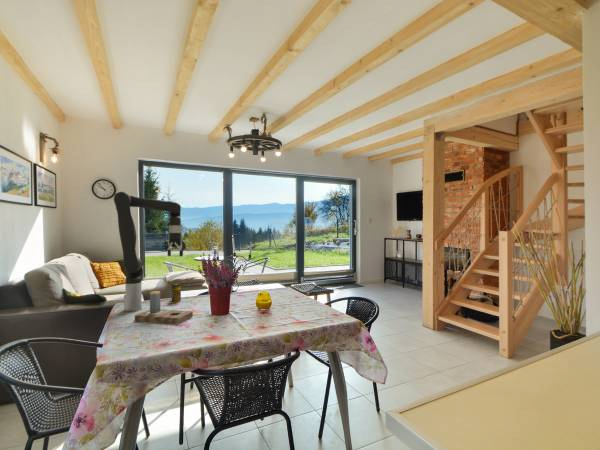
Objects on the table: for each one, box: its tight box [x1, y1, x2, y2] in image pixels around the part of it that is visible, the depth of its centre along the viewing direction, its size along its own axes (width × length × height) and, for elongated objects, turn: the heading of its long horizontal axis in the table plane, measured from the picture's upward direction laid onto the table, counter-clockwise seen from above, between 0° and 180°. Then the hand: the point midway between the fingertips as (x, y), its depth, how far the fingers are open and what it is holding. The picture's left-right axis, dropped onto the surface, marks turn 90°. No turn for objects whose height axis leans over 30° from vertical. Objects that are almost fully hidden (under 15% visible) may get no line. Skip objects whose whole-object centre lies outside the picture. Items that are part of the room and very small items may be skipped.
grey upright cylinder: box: [149, 290, 161, 313], centre depth 186 cm, size 4×4×12 cm
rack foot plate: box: [134, 308, 194, 325], centre depth 185 cm, size 28×14×3 cm, turn 79°
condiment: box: [166, 283, 183, 304], centre depth 225 cm, size 7×8×12 cm
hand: (175, 256), depth 215 cm, fingers open, 8 cm apart
